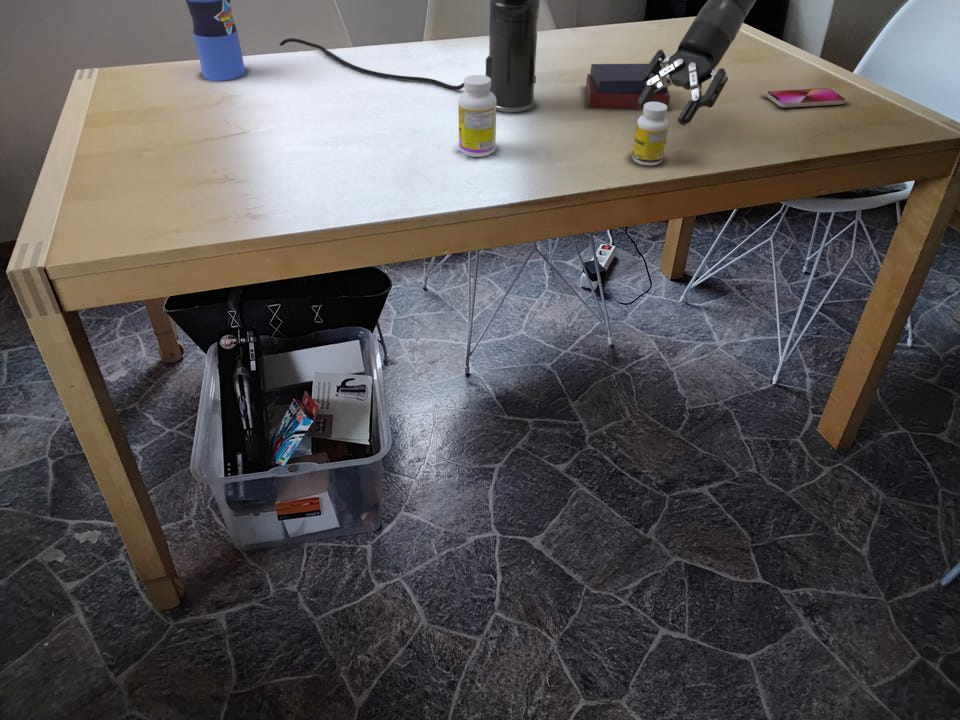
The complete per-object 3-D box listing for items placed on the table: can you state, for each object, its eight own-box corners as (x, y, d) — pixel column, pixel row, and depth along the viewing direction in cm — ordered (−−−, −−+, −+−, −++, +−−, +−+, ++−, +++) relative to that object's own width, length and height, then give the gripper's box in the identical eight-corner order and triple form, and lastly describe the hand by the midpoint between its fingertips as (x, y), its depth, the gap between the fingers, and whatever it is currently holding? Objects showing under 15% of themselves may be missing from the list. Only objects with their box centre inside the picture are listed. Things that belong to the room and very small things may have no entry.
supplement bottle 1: (465, 140, 135) (465, 70, 127) (499, 145, 134) (502, 75, 125) (453, 155, 130) (452, 83, 122) (488, 160, 129) (490, 88, 120)
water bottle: (194, 78, 158) (162, -51, 142) (215, 64, 165) (188, -61, 149) (233, 82, 156) (205, -48, 140) (253, 68, 163) (229, -58, 147)
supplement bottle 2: (628, 153, 132) (636, 100, 125) (657, 152, 132) (666, 99, 126) (636, 167, 127) (645, 112, 121) (666, 165, 128) (676, 111, 122)
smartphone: (848, 100, 150) (782, 104, 147) (846, 105, 151) (781, 109, 148) (828, 87, 155) (764, 91, 153) (826, 92, 156) (763, 95, 153)
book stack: (588, 107, 148) (591, 80, 144) (585, 87, 156) (588, 61, 153) (667, 110, 147) (672, 83, 144) (660, 89, 156) (664, 63, 152)
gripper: (671, 10, 125) (620, 92, 127) (744, 29, 117) (688, 116, 119) (683, 36, 131) (634, 114, 133) (753, 55, 123) (700, 138, 125)
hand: (660, 115), depth 126 cm, fingers open, 8 cm apart
